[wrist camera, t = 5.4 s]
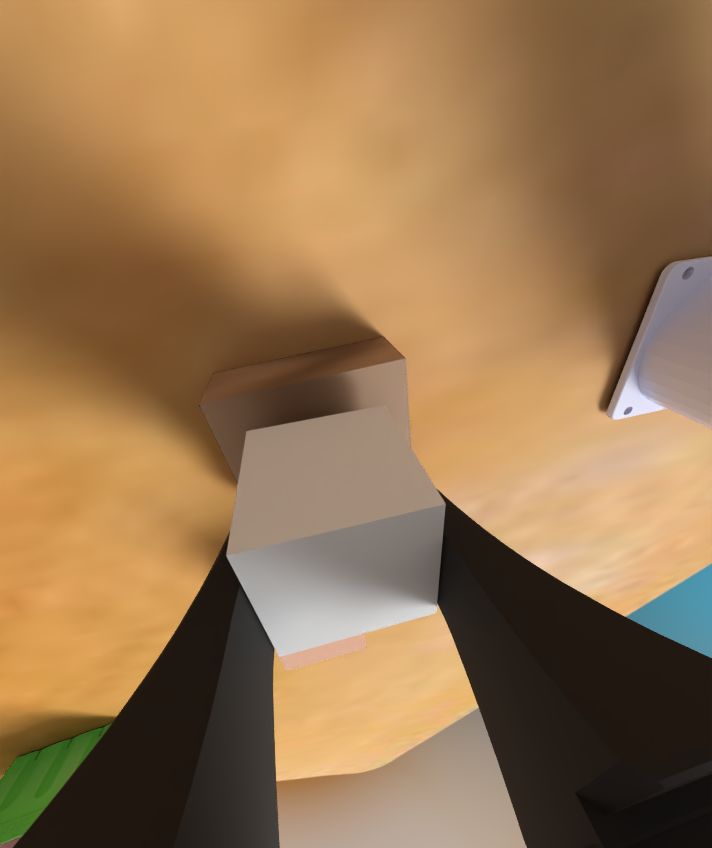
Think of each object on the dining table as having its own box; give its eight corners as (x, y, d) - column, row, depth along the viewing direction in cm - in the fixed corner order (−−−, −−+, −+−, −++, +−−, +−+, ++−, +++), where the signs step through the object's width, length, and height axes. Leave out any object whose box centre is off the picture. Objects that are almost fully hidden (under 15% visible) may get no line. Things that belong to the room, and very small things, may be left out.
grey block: (385, 404, 10) (445, 503, 7) (389, 500, 13) (436, 613, 9) (246, 431, 10) (226, 556, 6) (279, 526, 12) (279, 657, 8)
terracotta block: (343, 531, 19) (359, 606, 15) (351, 574, 21) (366, 648, 17) (268, 549, 18) (265, 631, 14) (284, 591, 21) (286, 670, 17)
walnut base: (381, 334, 13) (405, 358, 11) (394, 460, 17) (414, 499, 15) (214, 370, 13) (198, 405, 10) (266, 493, 16) (264, 539, 14)
